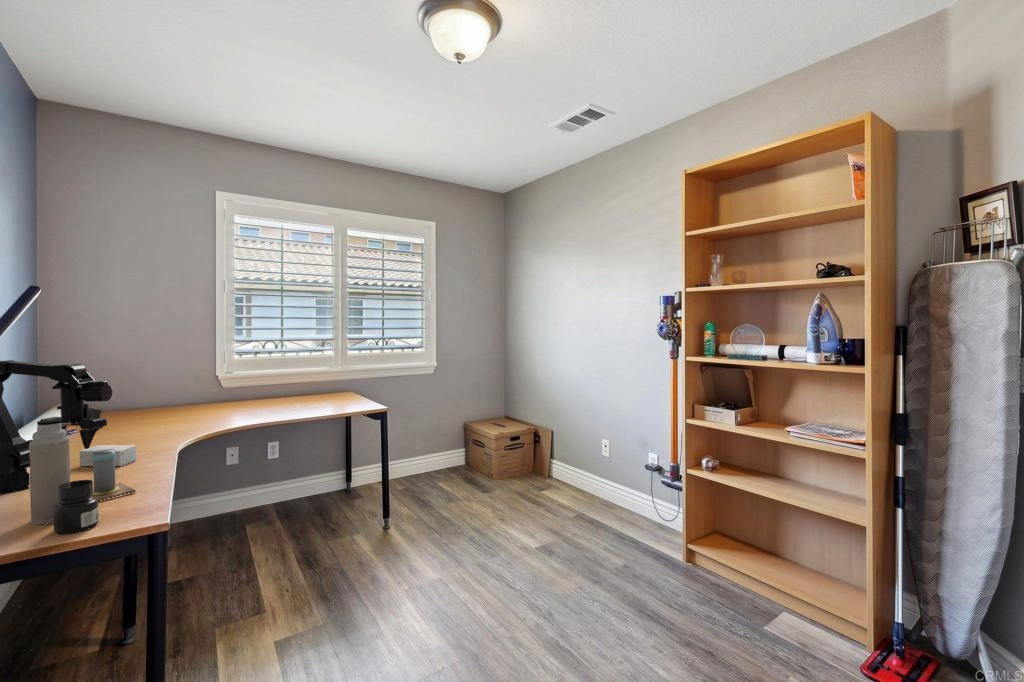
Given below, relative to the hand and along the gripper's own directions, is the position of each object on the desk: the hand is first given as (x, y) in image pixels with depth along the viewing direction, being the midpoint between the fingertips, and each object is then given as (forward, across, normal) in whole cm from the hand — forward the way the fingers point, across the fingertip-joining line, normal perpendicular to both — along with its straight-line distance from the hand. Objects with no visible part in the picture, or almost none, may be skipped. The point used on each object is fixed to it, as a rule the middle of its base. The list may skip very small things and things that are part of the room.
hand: (73, 448), depth 156 cm
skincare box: (+10, +20, -25) cm, 33 cm away
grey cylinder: (+12, -16, +6) cm, 21 cm away
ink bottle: (+13, -30, +29) cm, 44 cm away
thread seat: (+13, -16, +6) cm, 22 cm away
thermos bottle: (+13, -18, +24) cm, 33 cm away
